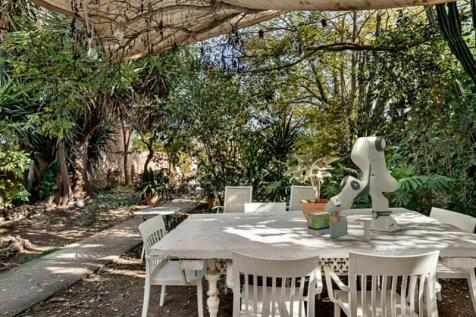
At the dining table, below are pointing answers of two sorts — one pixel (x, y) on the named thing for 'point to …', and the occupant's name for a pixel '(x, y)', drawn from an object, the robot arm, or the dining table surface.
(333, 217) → the doorstop
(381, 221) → the robot arm
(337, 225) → the door
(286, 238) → the dining table surface
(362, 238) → the threshold
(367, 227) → the jamb
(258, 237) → the dining table surface
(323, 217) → the tea box
